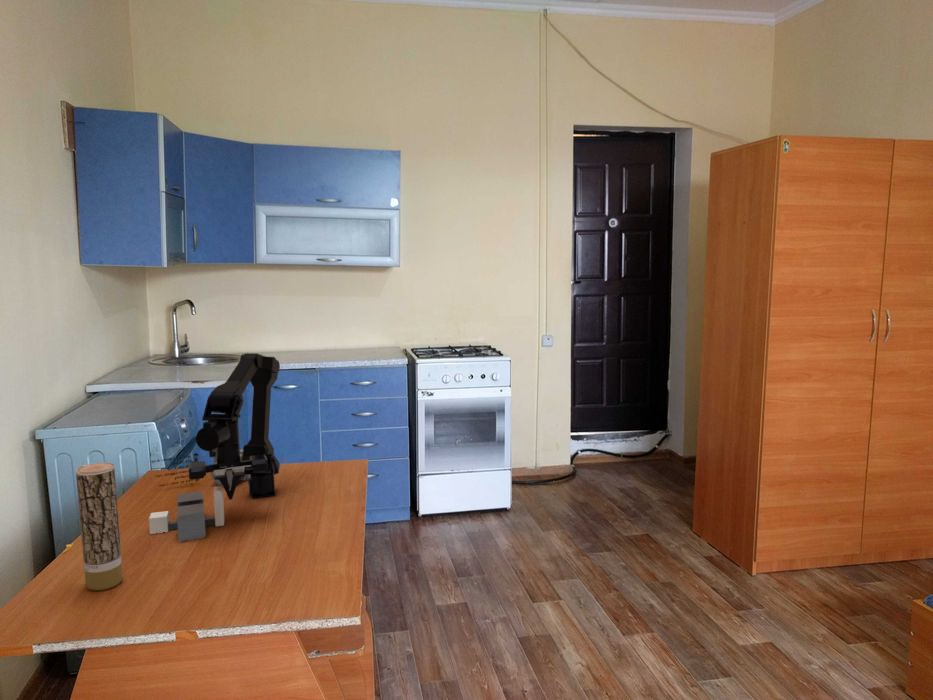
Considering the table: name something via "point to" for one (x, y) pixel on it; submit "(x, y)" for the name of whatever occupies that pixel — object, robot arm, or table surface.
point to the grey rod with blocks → (162, 524)
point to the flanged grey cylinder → (228, 472)
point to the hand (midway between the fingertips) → (230, 499)
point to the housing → (190, 516)
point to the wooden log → (99, 525)
